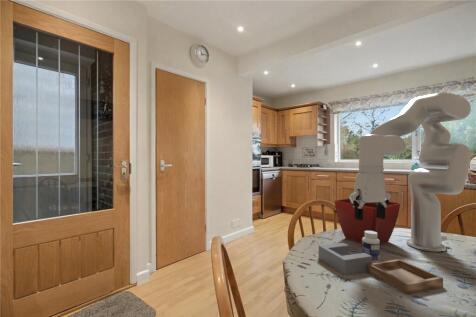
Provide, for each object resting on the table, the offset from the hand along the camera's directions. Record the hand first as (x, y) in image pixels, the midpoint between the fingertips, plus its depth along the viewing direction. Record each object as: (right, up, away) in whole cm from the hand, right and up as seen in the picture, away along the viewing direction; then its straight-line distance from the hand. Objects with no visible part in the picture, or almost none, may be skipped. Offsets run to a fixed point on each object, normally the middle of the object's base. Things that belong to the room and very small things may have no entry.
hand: (369, 218), depth 84 cm
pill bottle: (0, -15, 0) cm, 15 cm away
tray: (+3, -14, -13) cm, 20 cm away
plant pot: (+10, -15, +21) cm, 27 cm away
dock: (-10, -14, -3) cm, 18 cm away
